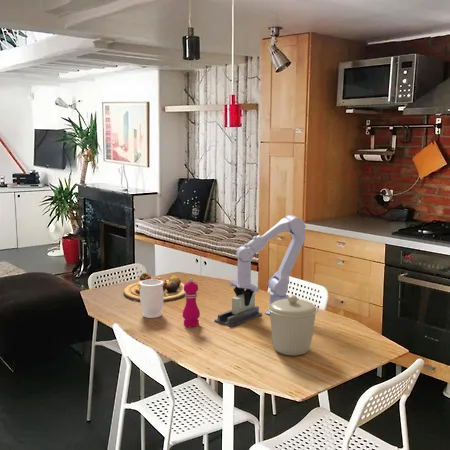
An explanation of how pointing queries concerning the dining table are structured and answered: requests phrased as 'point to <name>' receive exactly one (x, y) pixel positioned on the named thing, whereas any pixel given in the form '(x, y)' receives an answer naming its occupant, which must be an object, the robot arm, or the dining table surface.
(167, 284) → the wooden plate with food
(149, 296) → the jar
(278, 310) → the canister
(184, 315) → the pepper mill
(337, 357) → the dining table surface
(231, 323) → the rail
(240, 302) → the sage green block
